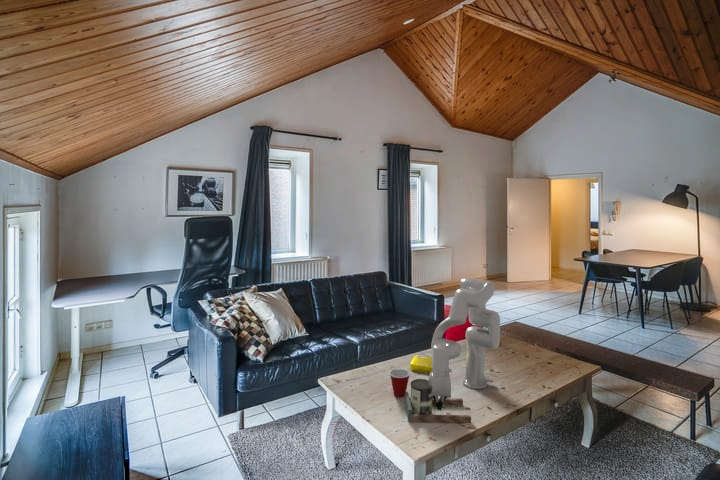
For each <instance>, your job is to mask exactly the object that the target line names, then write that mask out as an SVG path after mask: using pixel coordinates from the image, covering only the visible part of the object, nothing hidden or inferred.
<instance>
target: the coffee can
mask: <svg viewBox="0 0 720 480" xmlns="http://www.w3.org/2000/svg"><path fill="white" fill-rule="evenodd" d="M428 382H429V379H425V378H415V379H413V380H411V382H410V398H411V408H412V414H420V415H433V406H432V387H430V386H429V384H428Z"/></svg>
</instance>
